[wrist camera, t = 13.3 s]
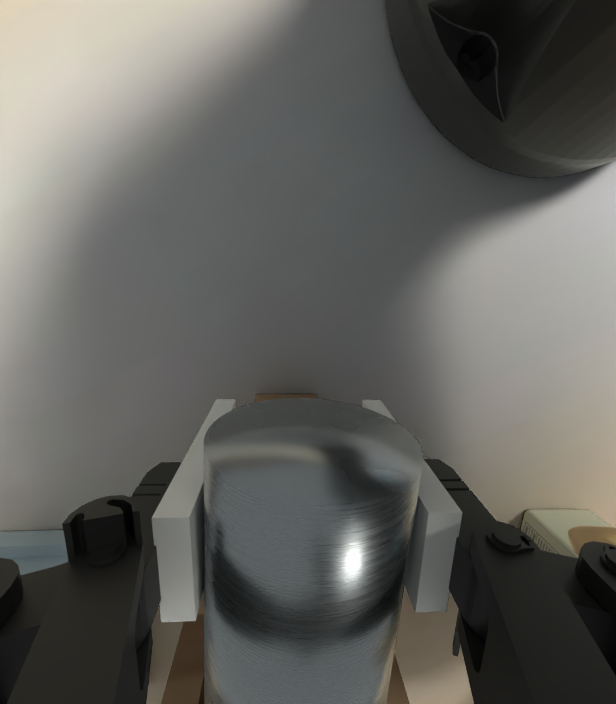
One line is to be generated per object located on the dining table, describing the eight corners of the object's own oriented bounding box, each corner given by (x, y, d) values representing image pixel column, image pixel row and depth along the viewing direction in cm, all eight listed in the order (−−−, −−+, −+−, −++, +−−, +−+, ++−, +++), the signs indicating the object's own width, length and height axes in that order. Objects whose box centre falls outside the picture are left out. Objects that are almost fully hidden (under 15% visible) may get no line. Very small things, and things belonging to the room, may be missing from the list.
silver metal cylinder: (222, 395, 10) (173, 505, 5) (382, 400, 11) (472, 502, 6) (219, 654, 12) (183, 901, 7) (353, 647, 13) (401, 873, 8)
